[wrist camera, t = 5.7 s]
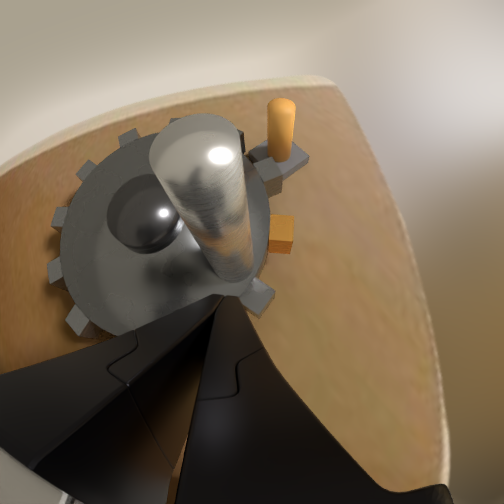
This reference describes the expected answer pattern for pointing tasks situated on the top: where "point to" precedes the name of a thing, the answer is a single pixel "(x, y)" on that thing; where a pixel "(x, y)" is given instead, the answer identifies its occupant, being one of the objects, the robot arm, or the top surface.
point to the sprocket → (168, 227)
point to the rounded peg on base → (280, 139)
